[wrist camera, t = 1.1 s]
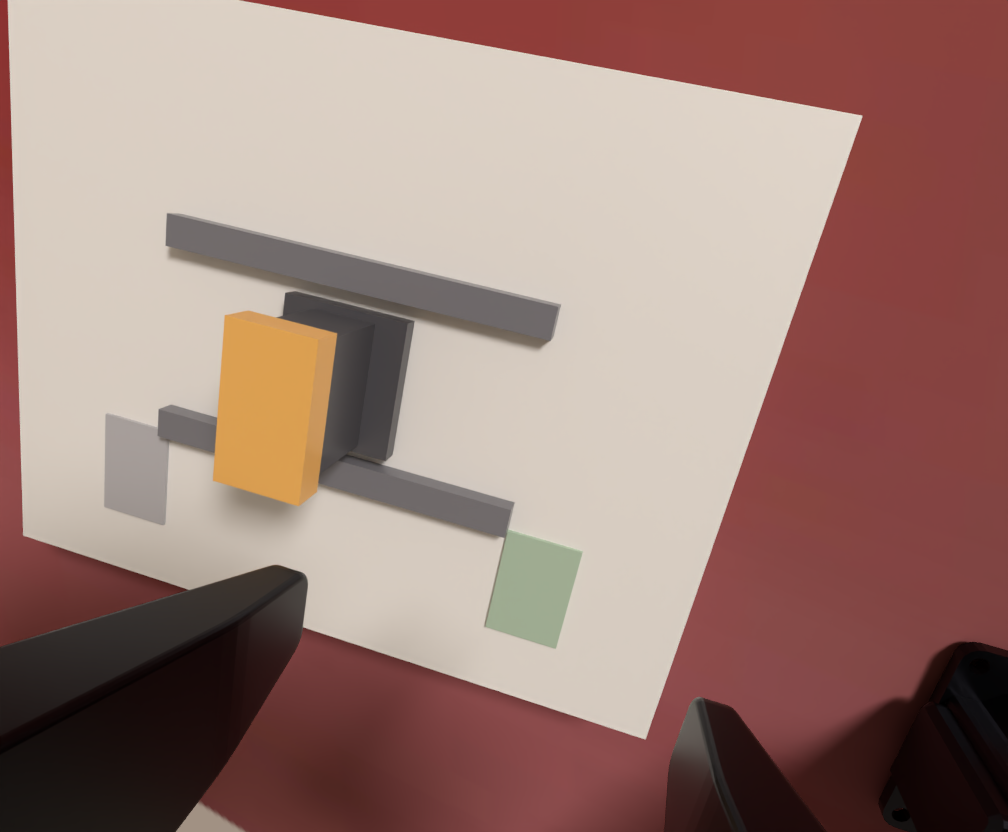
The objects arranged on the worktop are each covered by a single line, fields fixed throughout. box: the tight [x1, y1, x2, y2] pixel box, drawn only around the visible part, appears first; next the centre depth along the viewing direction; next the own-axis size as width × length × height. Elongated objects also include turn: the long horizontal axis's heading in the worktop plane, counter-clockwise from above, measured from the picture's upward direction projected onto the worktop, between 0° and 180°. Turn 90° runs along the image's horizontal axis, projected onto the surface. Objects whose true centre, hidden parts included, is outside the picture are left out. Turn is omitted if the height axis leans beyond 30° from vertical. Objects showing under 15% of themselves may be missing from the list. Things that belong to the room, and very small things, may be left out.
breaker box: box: [8, 0, 862, 739], centre depth 18 cm, size 20×16×4 cm
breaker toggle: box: [213, 291, 415, 506], centre depth 15 cm, size 3×4×4 cm
